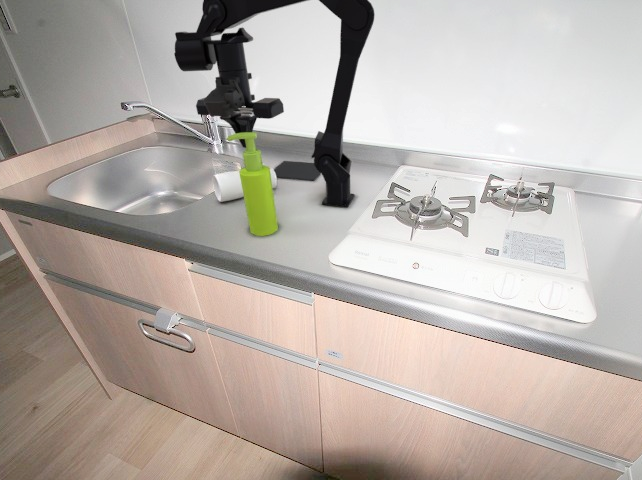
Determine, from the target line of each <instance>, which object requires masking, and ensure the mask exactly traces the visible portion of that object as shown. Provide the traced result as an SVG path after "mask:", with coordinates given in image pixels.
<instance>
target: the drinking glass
mask: <svg viewBox="0 0 642 480" xmlns="http://www.w3.org/2000/svg"><path fill="white" fill-rule="evenodd" d="M269 168H270V174H271V181H272V188H273V189H276V187H277V186H278V178H277V177H276V173H275V171H274V168H272V167H269ZM239 171H240V170H233V171H232V170H231V171H225V172H224V171H223V172H220V173H216V174H213V175H212V180H211V181H212V186H213V190H214V194H215V196H216V199H217V201H218V202H220V203H223V202H229V201H230V202H231V201H235V200H239V199H241V198H244V195H243V189H242V184H241V179H240V173H239Z"/></svg>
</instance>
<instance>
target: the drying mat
mask: <svg viewBox="0 0 642 480" xmlns="http://www.w3.org/2000/svg"><path fill="white" fill-rule="evenodd" d="M273 170H274V171H275V173H276V177H277V179H286V180H297V181H309V182H314V181H315V180H316V179H317V178H318V177H319V176H320V175H321V173H320V172H319V171H318V170H317V169H316V167H315V166H314V162H306V161H305V162H303V161H293V160H291V161H289V160H283V161H282V162H280V164H279V165H277V166H276V167H275V168H273Z"/></svg>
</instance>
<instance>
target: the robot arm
mask: <svg viewBox="0 0 642 480" xmlns="http://www.w3.org/2000/svg"><path fill="white" fill-rule="evenodd" d="M309 1H310V0H203V1H202V9H201V10H202V16H201V18H200V21H199V24H198V26H197V29H196V31H192V32H191V31H189V32H188V31H176V32H175V33H174V35H175V39H176V40H175V42H174V53H173V54H174V58H175V62H176V64H177V66H178V68H179V70H180V71H182V72H204V71H205V72H207V71H212V70H213V67H214V65H216V67H217V73H218V76H216V77H215V80H214V81H215V88H214V89H212V90H211V91H210V92H209V93H208V94H207V96H205V97H203V98H199V99H197V101H196V104H195V108H196V112H197V113H196V114H197V115H199V116H210V117H212V118H213V117H219V120H222V121H224V122H226V123H227V124H229V126H230V127H231V129H232V130H233V131H234V134H236V133H243V132H253V131H254V127H255V124H256V122H257V119H265V120H266V119H267V120H268V119H269V120H270V119H274V118H275V117H277V116H279V115H282V114H284V112H285V109H284V103H283V101H282V100H281V99H280V97H264V98H262V99H259V100H256V97H255V94H252V93H251V87H250V80H252V79H253V76H252V75H253V74H252V72H248V67H247V59H246V53H245V48H244V44H246V43H250V42H253V41H254V37H253V36H252V35H251V34H250V33H248V31H246V29H245V28H244V27H239V28H238V29H237V31H236V32H225V31H226V30H229V29H230V30H231V29H235V28H236V27H238V26H240V25H243V24H244V23H246V22H248V21H249V20H251V19H253V18H254V17H256V16H258V15H261V14H264V13H268V12H271V11H275V10H278V9H282V8H285V7H286V8H287V7H290V6H294V5H297V4H301V3H304V2H305V3H306V2H309ZM318 1H319V2H320V3H321V4H322V5H323V6H324V7H326V8H327V9H328V10H329V11H330V12H331V13H332V14H334V16H336V17H337V18H338V19H340V33H339V35H340V37H339V38H340V40H339V41H340V42H339V44H340V46H339V48H340V51H339V61H338V64H337V65H338V66H337V70H336V75H335V80H334V85H333V89H332V96H331V101H330V105H329V111H328V116H327V120H326V125H325V130H324V132H322V131H320V130H318V131H317V133H316V136H315V138H314V149H313V152H312V154H311V156H310V157H311V159H313V163H314V166H315V167H316V169H317V170H318V171H319V172H320V174H321V175H322V177H323V180H324V183H325V194H326V196H325V197H324V198H323V200H322V201H321V204H322V205H323V206H331V207H332V206H333V207H341V208H348V207H349V206H350V205H351V203H352V201H353V200H354V198H355V195H356V194H355V193H351V174H350V173H351V167H352V160H351V159H350V158H349V157H348V156H347V155H346V154H345V153H344V152H343V146H344V126H345V122H346V118H347V114H348V109H349V104H350V100H351V96H352V91H353V86H354V83H355V78H356V73H357V71H358V70H357V69H358V65H359V60H360V57H361V55H362V53H363V51H364V47H365V46H366V43H367V40H368V38H369V35H370V32H371V30H372V27H373V26H374V21H375V16H376V15H375V9H374V6H373V4H372V3H371V2H370V1H369V0H318ZM214 36H221V38H220V39H212V37H214ZM255 100H256V101H255ZM238 141H239V142H240V145H241V146H242V148H245V149H246V143H245V139H238Z"/></svg>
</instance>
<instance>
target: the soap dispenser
mask: <svg viewBox="0 0 642 480" xmlns="http://www.w3.org/2000/svg"><path fill="white" fill-rule="evenodd" d="M257 137H258V132H253V131H252V132H243V133H233V134H230V135H228V136H227V137H226V140H227V141H228V142H232V141H234V140H239V139H245V143H246V148H245V150H244V151H243V152H242V157H243V163H244V167H243V168H241V169H240V170H238V171H239V173H240V179H241V184H242V189H243V195H244V197H243V199H244V204H245V209H246V215H247V220H248V225H249V231H250V233H251V234H252V235H254V236H257V237H266V236H270V235H272V234H274V233H275V232H277V231H278V229H279V226H278V225H279V224H278V218H277V210H276V204H275V197H274V190H273V188H272V181H271V174H270V168H271V167H269V166H268V165H264V164H263V157H262V151H261V150H260V149H258V148H256V142H255V140H256V139H257Z"/></svg>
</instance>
